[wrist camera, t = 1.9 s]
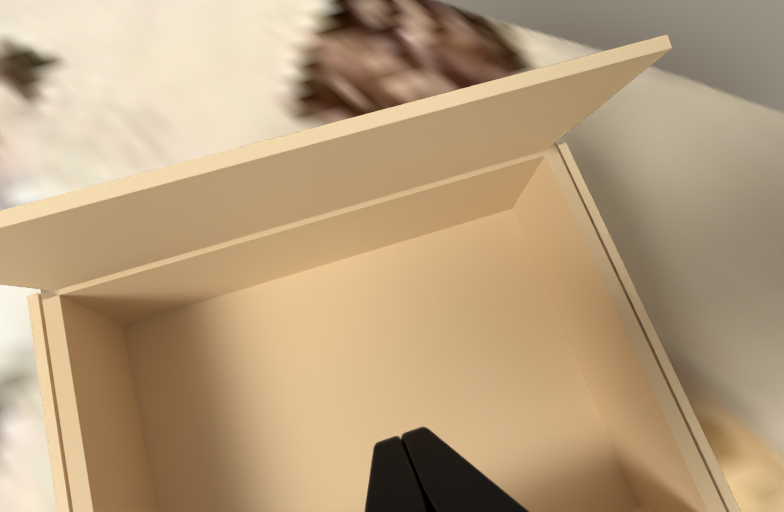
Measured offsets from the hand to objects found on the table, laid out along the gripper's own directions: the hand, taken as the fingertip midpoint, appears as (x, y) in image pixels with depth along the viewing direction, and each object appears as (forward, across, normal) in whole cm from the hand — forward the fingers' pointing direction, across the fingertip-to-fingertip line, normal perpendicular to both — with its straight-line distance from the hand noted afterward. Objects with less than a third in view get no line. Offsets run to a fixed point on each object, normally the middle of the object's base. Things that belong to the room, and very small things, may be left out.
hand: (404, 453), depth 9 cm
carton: (+10, 0, +8) cm, 13 cm away
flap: (+11, 0, 0) cm, 11 cm away
